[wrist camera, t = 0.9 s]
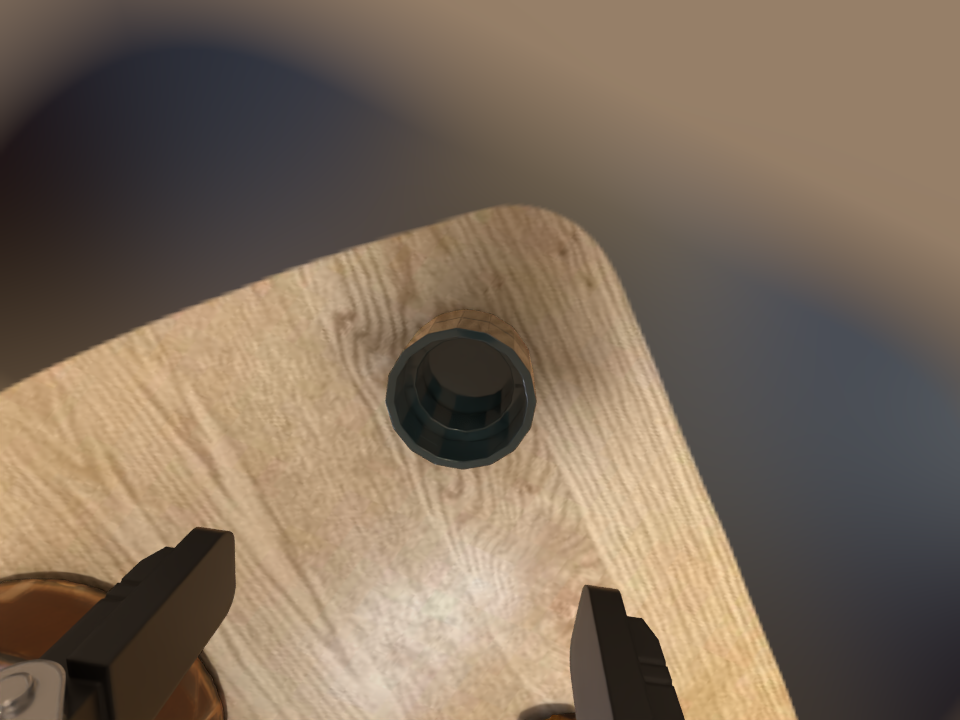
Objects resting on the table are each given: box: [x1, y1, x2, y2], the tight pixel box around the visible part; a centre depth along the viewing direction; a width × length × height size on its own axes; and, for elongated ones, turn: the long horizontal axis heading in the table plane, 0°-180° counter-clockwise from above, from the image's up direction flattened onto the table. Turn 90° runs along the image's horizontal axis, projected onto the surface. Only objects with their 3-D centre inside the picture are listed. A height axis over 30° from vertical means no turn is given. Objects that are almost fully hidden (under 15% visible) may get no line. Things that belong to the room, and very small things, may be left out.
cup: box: [385, 309, 536, 469], centre depth 25 cm, size 7×7×4 cm
